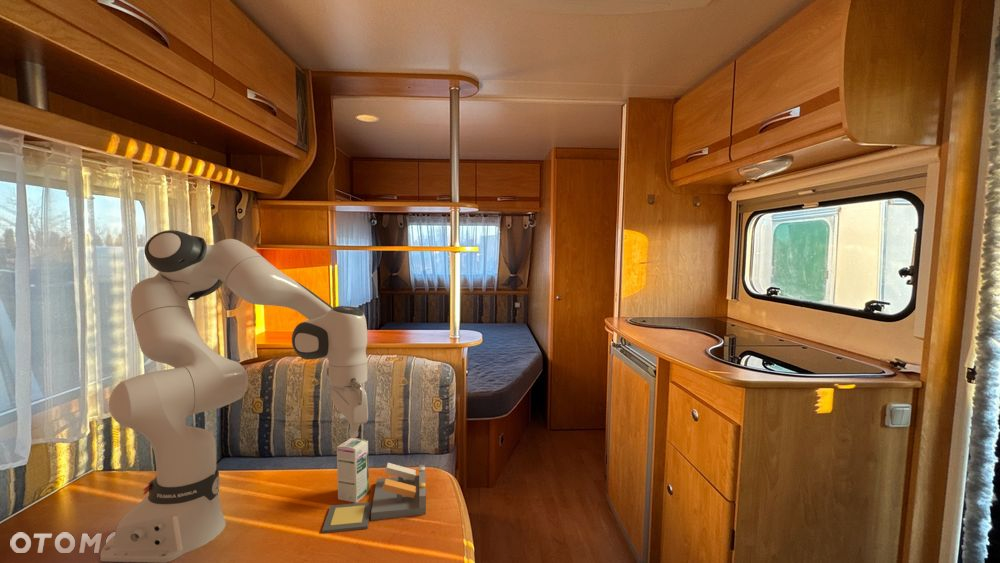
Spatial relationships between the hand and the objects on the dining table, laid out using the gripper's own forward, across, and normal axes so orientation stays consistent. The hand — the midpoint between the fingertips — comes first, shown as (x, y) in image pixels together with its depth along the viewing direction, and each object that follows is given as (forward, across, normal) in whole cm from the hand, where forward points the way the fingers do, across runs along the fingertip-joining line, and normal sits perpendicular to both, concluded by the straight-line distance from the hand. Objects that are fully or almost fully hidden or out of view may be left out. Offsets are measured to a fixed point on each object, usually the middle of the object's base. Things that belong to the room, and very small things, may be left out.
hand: (348, 430), depth 105 cm
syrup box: (+21, +8, -3) cm, 23 cm away
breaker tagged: (+16, -3, -12) cm, 20 cm away
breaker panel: (+21, 0, -13) cm, 25 cm away
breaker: (+16, +4, -15) cm, 22 cm away
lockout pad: (+21, -1, 0) cm, 21 cm away
